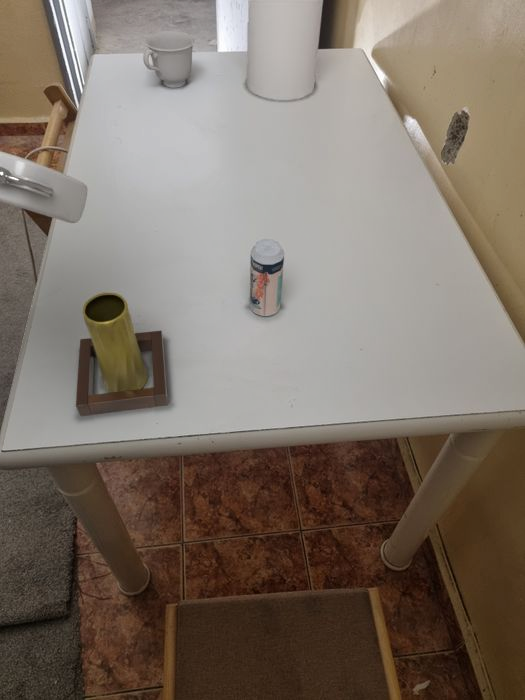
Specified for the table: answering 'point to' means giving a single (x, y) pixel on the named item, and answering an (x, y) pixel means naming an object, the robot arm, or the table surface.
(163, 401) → the brown wooden square frame
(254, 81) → the cylinder
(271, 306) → the beer can
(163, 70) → the teacup
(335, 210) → the table surface
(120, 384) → the vase
